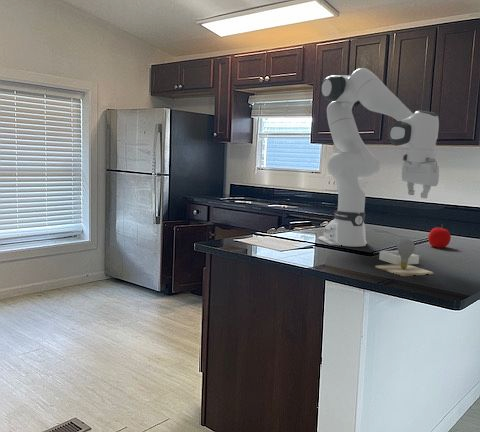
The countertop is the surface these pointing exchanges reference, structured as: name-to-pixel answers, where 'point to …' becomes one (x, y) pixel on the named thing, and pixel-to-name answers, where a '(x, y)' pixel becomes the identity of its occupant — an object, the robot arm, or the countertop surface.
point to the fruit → (439, 237)
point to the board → (404, 270)
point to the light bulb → (405, 251)
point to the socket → (397, 257)
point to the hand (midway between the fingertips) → (417, 196)
